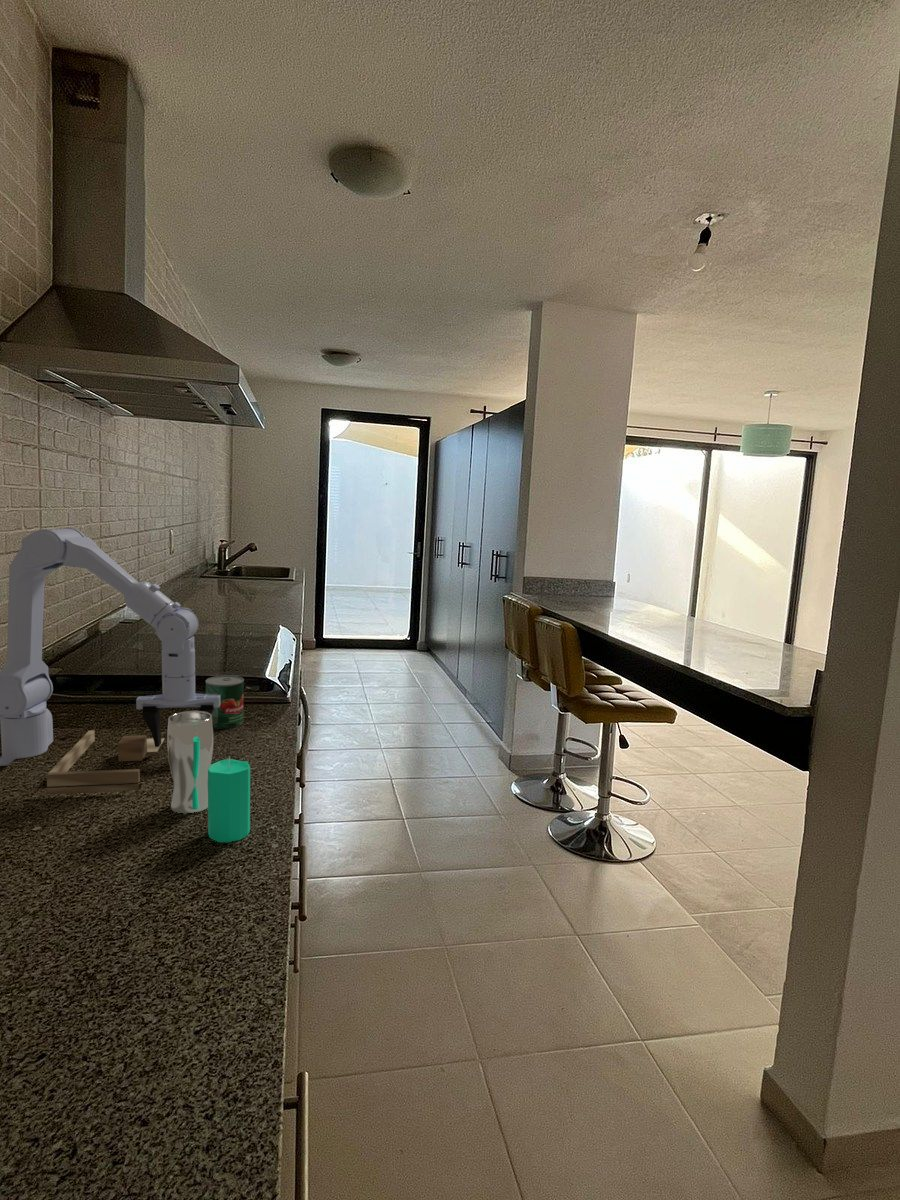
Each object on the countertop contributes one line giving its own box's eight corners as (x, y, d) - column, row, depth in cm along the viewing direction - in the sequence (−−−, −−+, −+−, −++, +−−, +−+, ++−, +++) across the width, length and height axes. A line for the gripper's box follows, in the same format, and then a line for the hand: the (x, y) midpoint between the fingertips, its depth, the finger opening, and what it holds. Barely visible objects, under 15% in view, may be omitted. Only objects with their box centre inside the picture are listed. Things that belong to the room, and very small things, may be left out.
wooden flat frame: (89, 747, 130) (89, 730, 130) (165, 744, 133) (164, 728, 133) (47, 794, 109) (46, 774, 108) (138, 790, 112) (138, 771, 112)
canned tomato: (236, 735, 140) (236, 685, 139) (199, 733, 140) (199, 683, 139) (248, 723, 148) (248, 676, 147) (213, 722, 148) (213, 674, 147)
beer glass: (222, 802, 109) (222, 714, 107) (190, 819, 103) (189, 726, 101) (191, 793, 112) (190, 707, 110) (158, 809, 106) (156, 718, 104)
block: (124, 753, 124) (123, 735, 124) (147, 752, 125) (146, 735, 125) (118, 761, 120) (118, 743, 120) (142, 760, 121) (141, 742, 121)
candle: (237, 845, 96) (237, 766, 94) (199, 839, 97) (199, 761, 95) (257, 826, 101) (257, 751, 100) (221, 821, 103) (221, 747, 101)
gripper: (222, 668, 128) (222, 735, 130) (142, 669, 125) (143, 738, 127) (217, 677, 121) (218, 748, 123) (132, 679, 118) (134, 751, 120)
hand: (179, 744), depth 125 cm, fingers open, 7 cm apart
